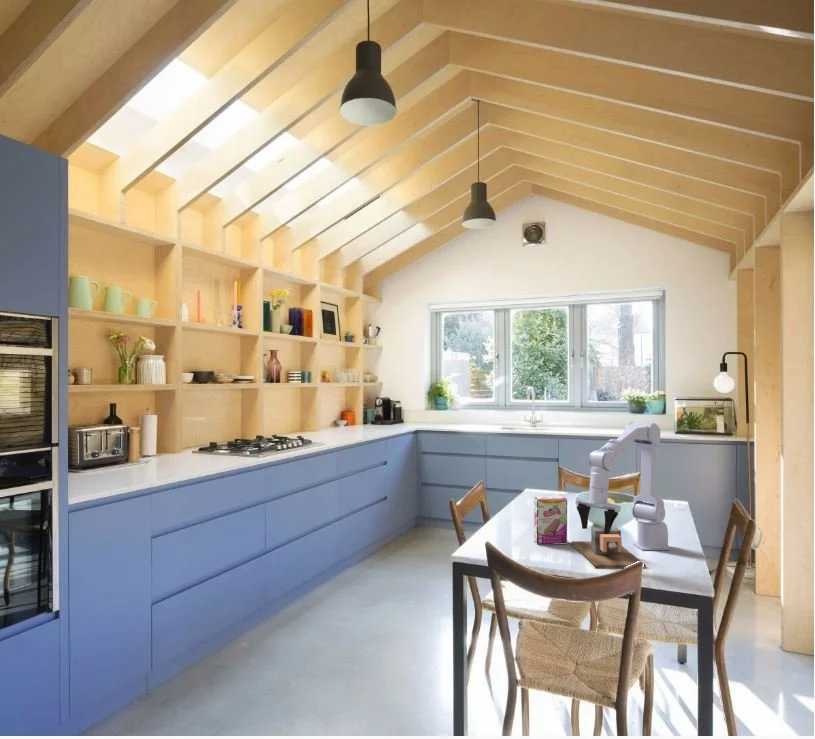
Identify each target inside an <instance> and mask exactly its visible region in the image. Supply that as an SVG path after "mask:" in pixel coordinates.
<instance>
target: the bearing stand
mask: <svg viewBox="0 0 815 739" xmlns="http://www.w3.org/2000/svg"><path fill="white" fill-rule="evenodd" d="M590 529H591V531H590V534H591V535H590V536H591V537H590V538H591V540H589V541H588V540H587V541H586V540H583V541H577V540H576V541H573V540H572V541H571V545H572V544H573V545H574V546H575V547H576V548H577V549H576V548H575V547H574V546H573V545H572V546H573V547H574V548H575V549H576V551H577V552H579V553H580V554H582V555H583V556H584V557H585V558H586V559H587V560H588V561H589V562H590V563H591V564H592V565H593V566H594V567H595V568H594V567H593V566H592V565H591V564H590V563H589V562H588V561H587V560H586V559H585V558H584V557H583V556H582V555H581V556H582V557H583V558H584V559H585V560H586V561H587V562H588V563H589V564H590V565H591V566H592V567H593V568H594V569H625V568H624V567H626V566H628V565H631V564H633V563H635V562H637V561H641V559H639V558H638V557H637V556H636V555H635V554H633V553H632V552H631V551H629V550H628V549H627V548H625V547H624V546H623V545H622V552H617V551H616V550H611V549H610V548H609V547H608V546H607V552H603V551H602V550H601V549H600V534H605V533H604V529H605V527H602V528H591V527H590ZM609 534H618V535H619V536H621V537H622V530H620V529H619V528H618V527H611V529H610V533H609ZM644 567H645V568H644V569H647V565H646V564H645V563H644Z"/></svg>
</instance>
